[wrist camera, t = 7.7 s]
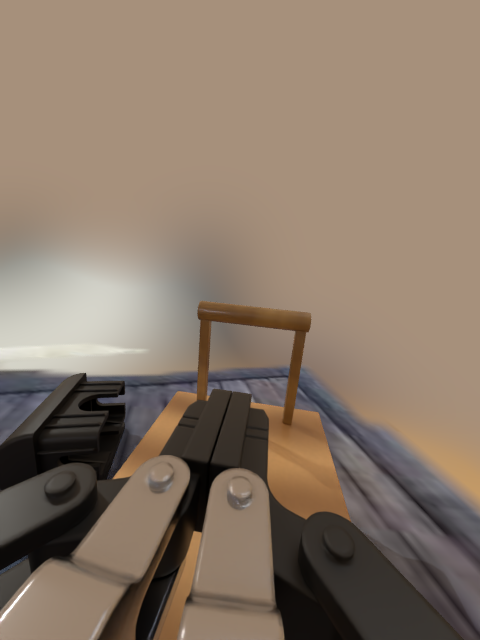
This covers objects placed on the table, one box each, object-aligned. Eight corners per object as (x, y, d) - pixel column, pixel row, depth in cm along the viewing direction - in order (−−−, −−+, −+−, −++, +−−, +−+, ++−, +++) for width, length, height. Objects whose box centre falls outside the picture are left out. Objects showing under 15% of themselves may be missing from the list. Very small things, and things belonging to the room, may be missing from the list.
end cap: (59, 426, 28) (54, 372, 26) (126, 423, 30) (125, 371, 28) (-5, 514, 19) (-20, 438, 17) (98, 502, 20) (94, 431, 19)
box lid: (177, 398, 23) (180, 294, 20) (317, 420, 21) (337, 311, 19) (-44, 713, 7) (-144, 407, 5) (441, 874, 6) (653, 554, 3)
